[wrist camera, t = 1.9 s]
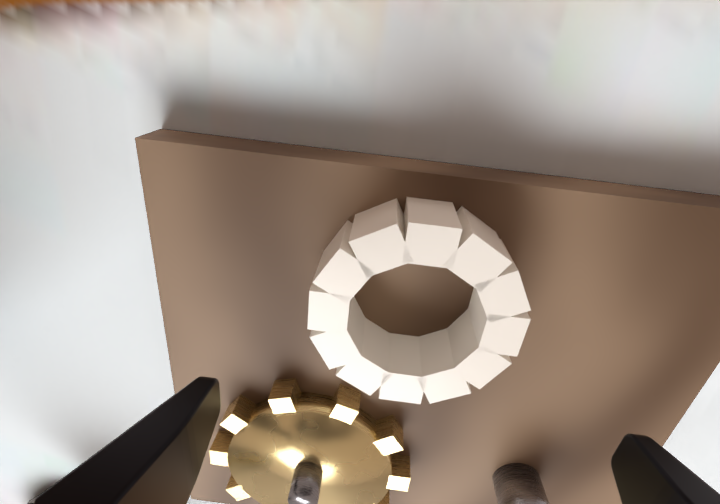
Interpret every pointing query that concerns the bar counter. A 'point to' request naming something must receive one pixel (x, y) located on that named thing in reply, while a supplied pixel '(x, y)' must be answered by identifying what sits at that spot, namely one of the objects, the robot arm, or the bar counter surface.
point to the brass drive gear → (310, 449)
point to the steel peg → (518, 485)
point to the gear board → (441, 303)
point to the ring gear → (434, 350)
